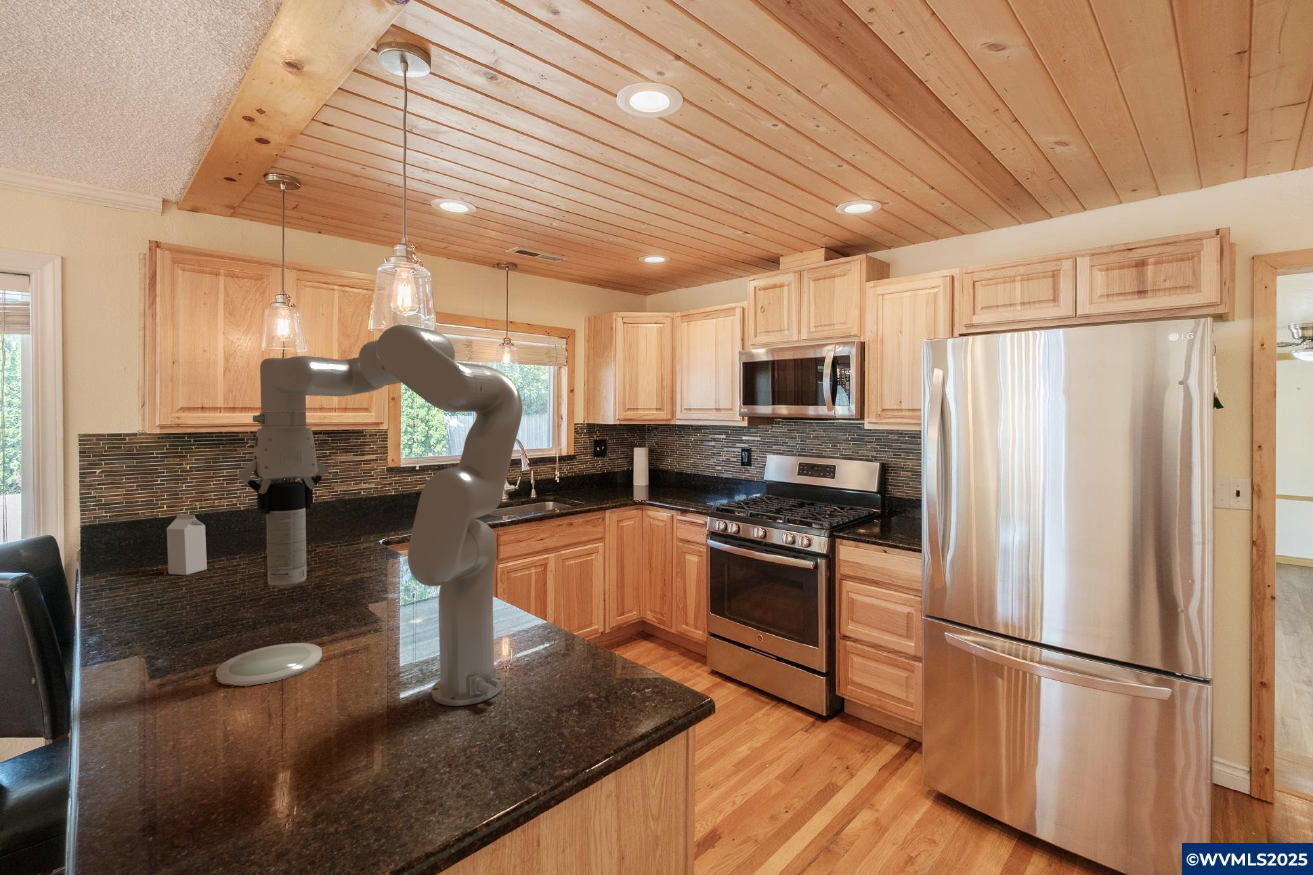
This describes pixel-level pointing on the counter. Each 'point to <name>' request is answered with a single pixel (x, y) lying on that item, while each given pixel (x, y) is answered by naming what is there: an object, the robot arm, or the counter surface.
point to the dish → (269, 664)
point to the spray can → (286, 534)
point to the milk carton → (186, 545)
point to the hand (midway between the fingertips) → (286, 509)
